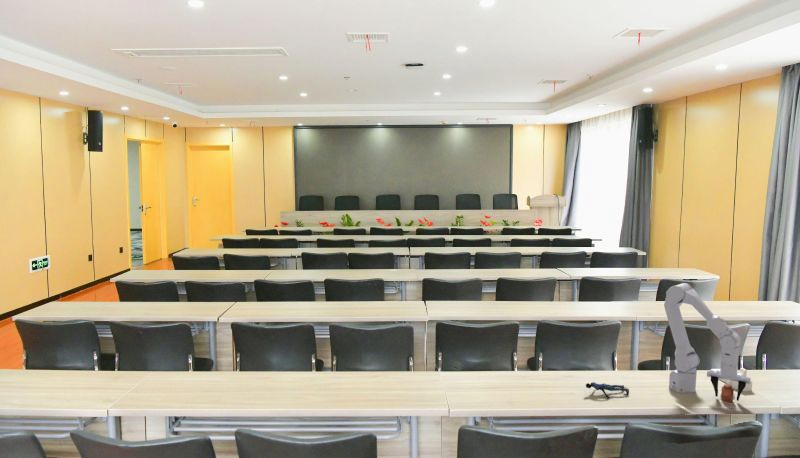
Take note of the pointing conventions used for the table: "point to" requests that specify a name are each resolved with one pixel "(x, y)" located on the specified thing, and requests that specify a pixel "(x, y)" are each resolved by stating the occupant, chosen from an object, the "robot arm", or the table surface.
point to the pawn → (727, 393)
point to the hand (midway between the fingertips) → (727, 397)
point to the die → (747, 387)
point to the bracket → (742, 372)
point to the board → (733, 399)
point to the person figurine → (608, 388)
